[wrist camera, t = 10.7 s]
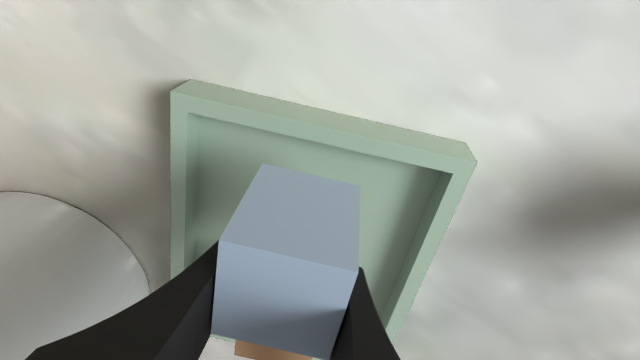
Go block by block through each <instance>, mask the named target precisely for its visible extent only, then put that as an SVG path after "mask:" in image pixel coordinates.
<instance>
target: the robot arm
mask: <svg viewBox="0 0 640 360" xmlns="http://www.w3.org/2000/svg"><path fill="white" fill-rule="evenodd" d="M218 244H219V240H218V241H217V242H216V243H215V244H213V245H212V246H211V247H210V248H209V249H208V250H207V251H206V252H205V253H204V254H203V255H201V256H200V257H199V258H198V259H197V260H196V261H194V262H193V263H192V264H191V265H190V266H188V267H187V268H186V269H185V270H183V271H182V272H181V273H179V274H178V275H177V276H175V277H174V278H173V279H171V280H170V281H169V282H167V283H166V284H165V285H163V286H162V287H160V288H159V289H157V290H156V291H154V292H153V293H151V294H150V295H148V296H147V297H145V298H143V299H142V300H140V301H138V302H137V303H135V304H133V305H131V306H130V307H128V308H126V309H124V310H123V311H121V312H119V313H117V314H115V315H113V316H111V317H109V318H107V319H105V320H103V321H101V322H99V323H97V324H95V325H92V326H90V327H88V328H86V329H84V330H82V331H79V332H77V333H75V334H72V335H70V336H67V337H64V338H62V339H59V340H57V341H54V342H51V343H49V344H46V345H43V346H41V347H38V348H36V349H35V350H34V351H33V352H32V353H31V354H30V355H29V356H28V357H27V358H26V359H25V360H198V359H199V357H200V355H201V353H202V351H203V349H204V347H205V345H206V343H207V341H208V339H209V337H210V335H211V327H212V315H213V303H214V291H215V280H216V268H217V256H218ZM329 360H400V358H399V356H398V354H397V353H396V351H395V349H394V347H393V345H392V343H391V341H390V339H389V337H388V335H387V333H386V331H385V328H384V326H383V324H382V322H381V319H380V317H379V315H378V312H377V309H376V307H375V304H374V302H373V299H372V296H371V293H370V290H369V287H368V284H367V281H366V277H365V273H364V270H363V268H362V267H359V272H358V275H357V278H356V281H355V284H354V287H353V290H352V293H351V296H350V299H349V302H348V305H347V308H346V311H345V314H344V317H343V320H342V323H341V326H340V329H339V332H338V334H337V337H336V340H335V343H334V346H333V349H332V352H331V355H330V358H329Z"/></svg>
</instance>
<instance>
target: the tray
mask: <svg viewBox="0 0 640 360" xmlns="http://www.w3.org/2000/svg"><path fill="white" fill-rule="evenodd" d="M262 163H264V164H268V165H273V166H277V167H281V168H286V169H290V170H294V171H299V172H303V173H307V174H312V175H316V176H320V177H325V178H329V179H333V180H338V181H342V182H346V183H351V184H355V185H359V186H361V187H360V230H359V267H362V268H363V270H364V273H365V277H366V281H367V284H368V287H369V290H370V293H371V296H372V299H373V302H374V304H375V307H376V309H377V312H378V315H379V317H380V319H381V322H382V324H383V326H384V328H385V331H386V333H387V335H388V337H389V339H390V341H391V343H392V345H393V344H394V341H395V339H396V337H397V335H398V333H399V331H400V328H401V326H402V324H403V322H404V320H405V318H406V316H407V313H408V311H409V309H410V307H411V305H412V303H413V300H414V298H415V296H416V294H417V292H418V290H419V287H420V285H421V283H422V281H423V279H424V277H425V275H426V272H427V270H428V268H429V266H430V264H431V262H432V259H433V257H434V255H435V253H436V251H437V249H438V246H439V244H440V242H441V240H442V238H443V236H444V234H445V231H446V229H447V227H448V225H449V223H450V221H451V218H452V216H453V214H454V212H455V210H456V208H457V205H458V203H459V201H460V199H461V197H462V195H463V193H464V190H465V188H466V186H467V184H468V182H469V180H470V177H471V175H472V173H473V171H474V169H475V167H476V165H477V160H476V159H475V157H474V156H473V154H472V152H471V151H470V149H469V147H468V146H467V144H466V143H464V142H460V141H455V140H451V139H447V138H442V137H438V136H434V135H429V134H425V133H421V132H416V131H412V130H408V129H403V128H399V127H395V126H390V125H386V124H382V123H377V122H373V121H369V120H364V119H360V118H356V117H352V116H347V115H343V114H339V113H334V112H330V111H326V110H321V109H317V108H313V107H308V106H304V105H300V104H295V103H291V102H287V101H282V100H278V99H274V98H269V97H265V96H261V95H256V94H252V93H248V92H243V91H239V90H235V89H230V88H226V87H222V86H217V85H213V84H209V83H205V82H200V81H196V80H192V79H191V80H189V81H187V82H185V83H184V84H182V85H180V86H178V87H177V88H175V89H173V90H171V91H170V280H171V279H173V278H174V277H175V276H177V275H178V274H179V273H181V272H182V271H183V270H185V269H186V268H187V267H188V266H190V265H191V264H192V263H193V262H194V261H196V260H197V259H198V258H199V257H200V256H201V255H203V254H204V253H205V252H206V251H207V250H208V249H209V248H210V247H211V246H212V245H213V244H215V243H216V242H217V241H218V240H219V239H220V237H221V235H222V234H223V232H224V230H225V228H226V227H227V225H228V223H229V221H230V220H231V218H232V216H233V214H234V212H235V211H236V209H237V207H238V205H239V204H240V202H241V200H242V198H243V197H244V195H245V193H246V191H247V190H248V188H249V186H250V184H251V182H252V181H253V179H254V177H255V175H256V174H257V172H258V170H259V168H260V167H261V165H262ZM210 337H214V338H218V339H223V340H227V341H231V342H236V339H231V338H227V337H223V336H218V335H214V334H211V335H210ZM312 360H323V359H318V358H314V357H313V358H312Z"/></svg>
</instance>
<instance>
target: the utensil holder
mask: <svg viewBox="0 0 640 360" xmlns="http://www.w3.org/2000/svg"><path fill="white" fill-rule="evenodd" d="M148 295H150V291H149V285H148V281H147V278H146V275H145V273H144V271H143V269H142V267H141V265H140V263H139V261H138V260H137V258H136V257H135V255H134V254H133V253H132V251H131V250H130V249H129V248H128V246H127V245H126V244H125V243H124V242H123V241H122V240H121V239H120V238H119V237H118V236H117V235H116V234H115V233H114V232H113V231H112V230H111V229H109V228H108V227H107V226H105V225H104V224H103V223H101V222H100V221H98V220H97V219H95V218H94V217H92V216H91V215H89V214H87V213H86V212H84V211H82V210H79V209H77V208H75V207H73V206H71V205H68V204H66V203H64V202H61V201H58V200H56V199H53V198H50V197H46V196H42V195H38V194H32V193H24V192H0V360H25V359H26V358H27V357H28V356H29V355H30V354H31V353H32V352H33V351H34V350H35V349H36V348H38V347H41V346H43V345H46V344H49V343H51V342H54V341H57V340H59V339H62V338H64V337H67V336H70V335H72V334H75V333H77V332H79V331H82V330H84V329H86V328H88V327H90V326H92V325H95V324H97V323H99V322H101V321H103V320H105V319H107V318H109V317H111V316H113V315H115V314H117V313H119V312H121V311H123V310H124V309H126V308H128V307H130V306H131V305H133V304H135V303H137V302H138V301H140V300H142V299H143V298H145V297H147V296H148Z"/></svg>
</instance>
